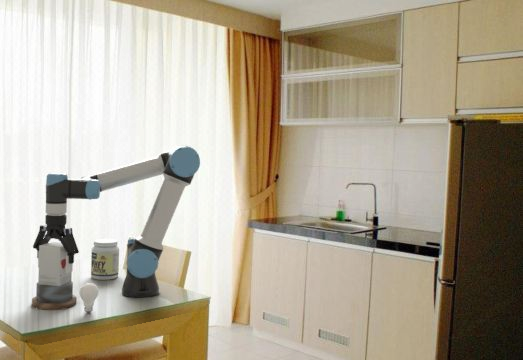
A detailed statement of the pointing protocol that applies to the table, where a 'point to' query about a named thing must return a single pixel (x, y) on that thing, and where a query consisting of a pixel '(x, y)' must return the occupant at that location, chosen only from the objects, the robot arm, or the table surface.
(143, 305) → the table surface
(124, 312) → the table surface
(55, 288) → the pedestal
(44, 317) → the table surface
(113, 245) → the supplement tub
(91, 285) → the light bulb
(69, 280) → the supplement box
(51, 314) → the table surface
